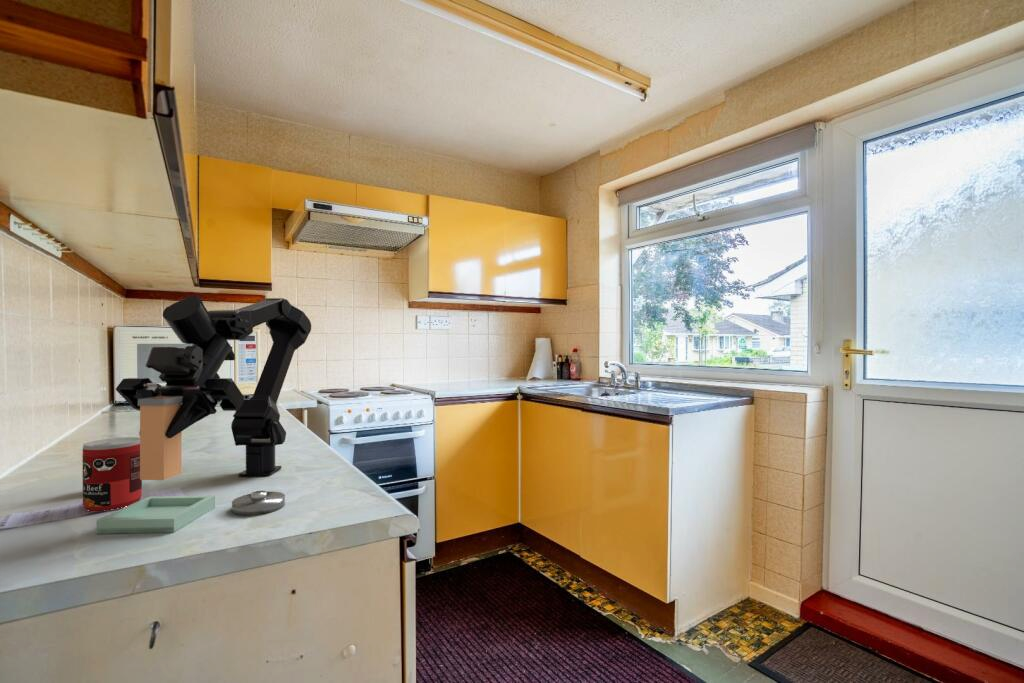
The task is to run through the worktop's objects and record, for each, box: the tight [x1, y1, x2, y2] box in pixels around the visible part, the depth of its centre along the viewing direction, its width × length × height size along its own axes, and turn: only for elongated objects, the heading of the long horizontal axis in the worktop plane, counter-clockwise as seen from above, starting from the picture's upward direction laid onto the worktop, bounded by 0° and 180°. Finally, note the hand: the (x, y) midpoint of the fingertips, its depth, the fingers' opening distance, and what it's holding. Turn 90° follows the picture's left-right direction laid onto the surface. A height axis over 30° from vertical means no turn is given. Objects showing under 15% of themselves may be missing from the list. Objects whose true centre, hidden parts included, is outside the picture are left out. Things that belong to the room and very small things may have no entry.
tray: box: [96, 495, 216, 535], centre depth 78 cm, size 11×11×2 cm
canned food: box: [82, 436, 143, 512], centre depth 85 cm, size 8×8×11 cm
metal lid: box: [231, 490, 286, 517], centre depth 83 cm, size 8×8×2 cm
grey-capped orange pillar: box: [138, 396, 183, 481], centre depth 78 cm, size 4×4×12 cm
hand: (154, 436), depth 76 cm, fingers closed on grey-capped orange pillar, 4 cm apart
